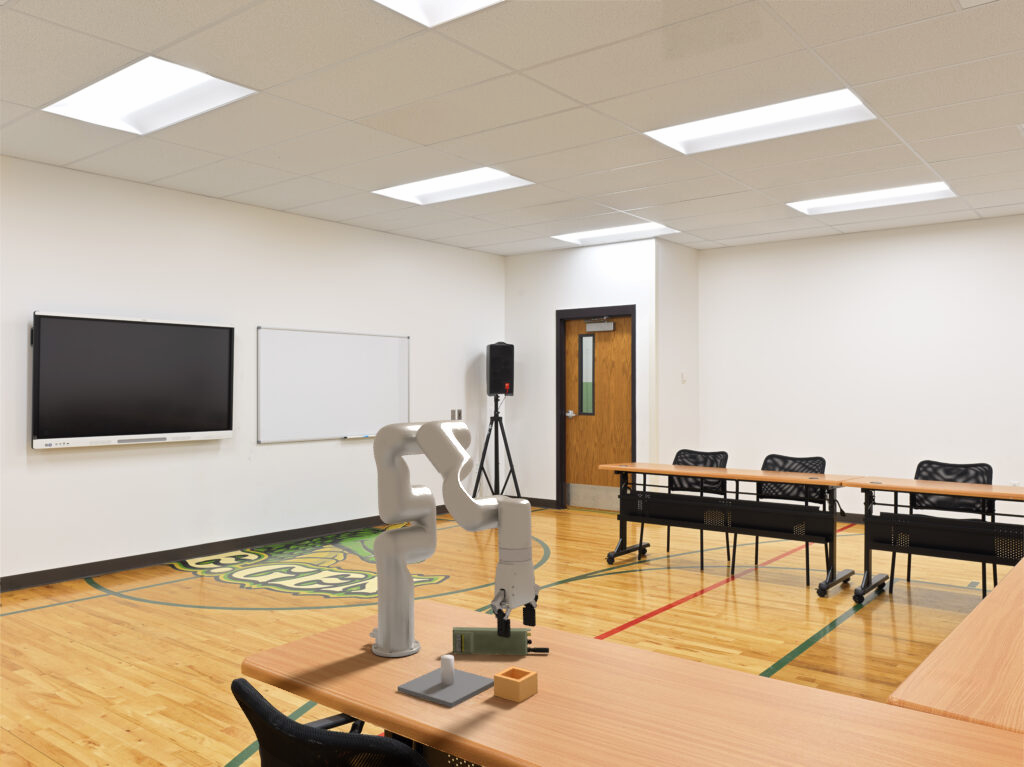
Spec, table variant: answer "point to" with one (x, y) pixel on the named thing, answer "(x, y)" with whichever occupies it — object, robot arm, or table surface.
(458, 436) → the robot arm
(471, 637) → the handheld radio
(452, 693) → the plate
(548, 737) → the table surface
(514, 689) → the orange open box
